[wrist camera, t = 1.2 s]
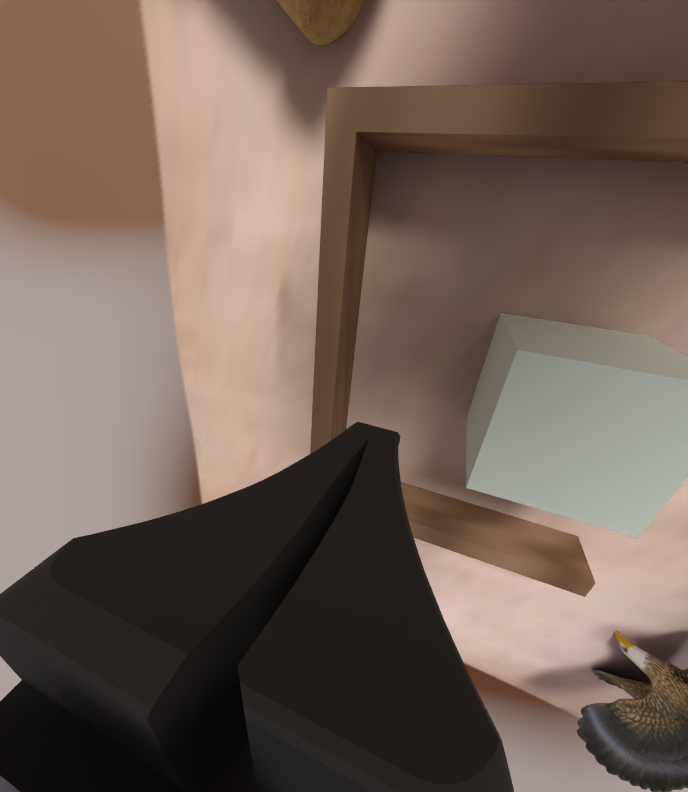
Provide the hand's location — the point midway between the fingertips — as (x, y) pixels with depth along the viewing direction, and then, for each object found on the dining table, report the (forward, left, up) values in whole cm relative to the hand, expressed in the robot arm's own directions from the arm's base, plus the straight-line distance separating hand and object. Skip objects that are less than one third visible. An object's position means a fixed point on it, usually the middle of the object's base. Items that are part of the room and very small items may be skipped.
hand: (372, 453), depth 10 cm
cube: (-7, 0, -9) cm, 11 cm away
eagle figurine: (-19, +17, -10) cm, 27 cm away
